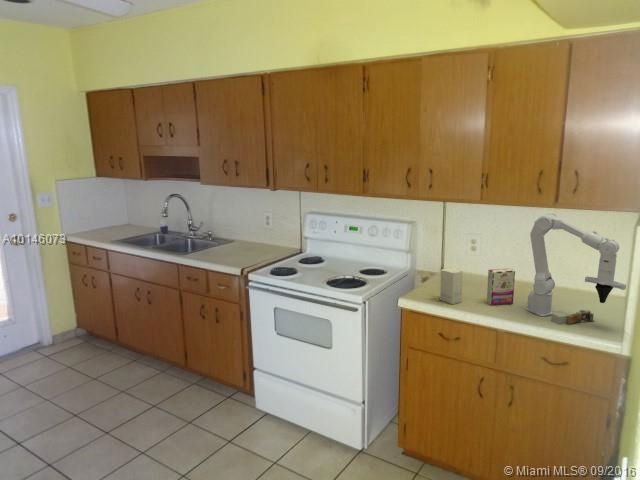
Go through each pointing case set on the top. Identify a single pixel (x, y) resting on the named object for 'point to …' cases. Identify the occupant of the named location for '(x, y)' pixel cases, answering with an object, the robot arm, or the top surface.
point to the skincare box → (451, 285)
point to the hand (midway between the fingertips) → (602, 302)
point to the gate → (577, 316)
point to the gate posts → (590, 318)
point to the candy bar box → (500, 286)
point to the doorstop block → (559, 318)
